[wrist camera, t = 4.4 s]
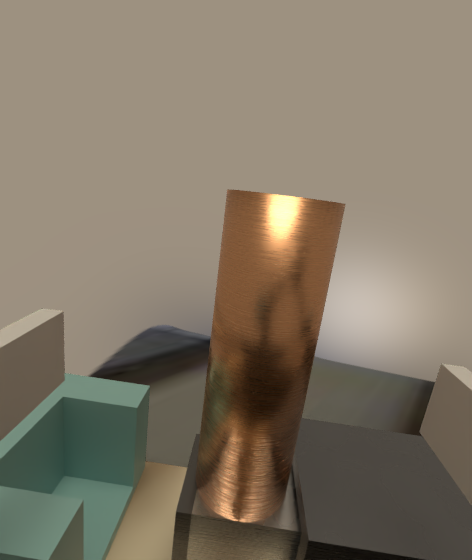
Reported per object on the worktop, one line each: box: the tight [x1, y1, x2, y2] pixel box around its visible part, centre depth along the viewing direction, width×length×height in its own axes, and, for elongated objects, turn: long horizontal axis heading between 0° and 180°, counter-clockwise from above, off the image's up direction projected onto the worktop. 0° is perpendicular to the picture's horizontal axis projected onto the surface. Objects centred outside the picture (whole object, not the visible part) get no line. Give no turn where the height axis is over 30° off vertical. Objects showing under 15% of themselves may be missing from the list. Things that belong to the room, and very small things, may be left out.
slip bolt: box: [171, 190, 345, 560], centre depth 13 cm, size 15×4×16 cm, turn 86°
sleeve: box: [292, 418, 472, 560], centre depth 14 cm, size 11×6×6 cm, turn 86°
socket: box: [0, 373, 150, 560], centre depth 15 cm, size 6×9×6 cm, turn 176°
